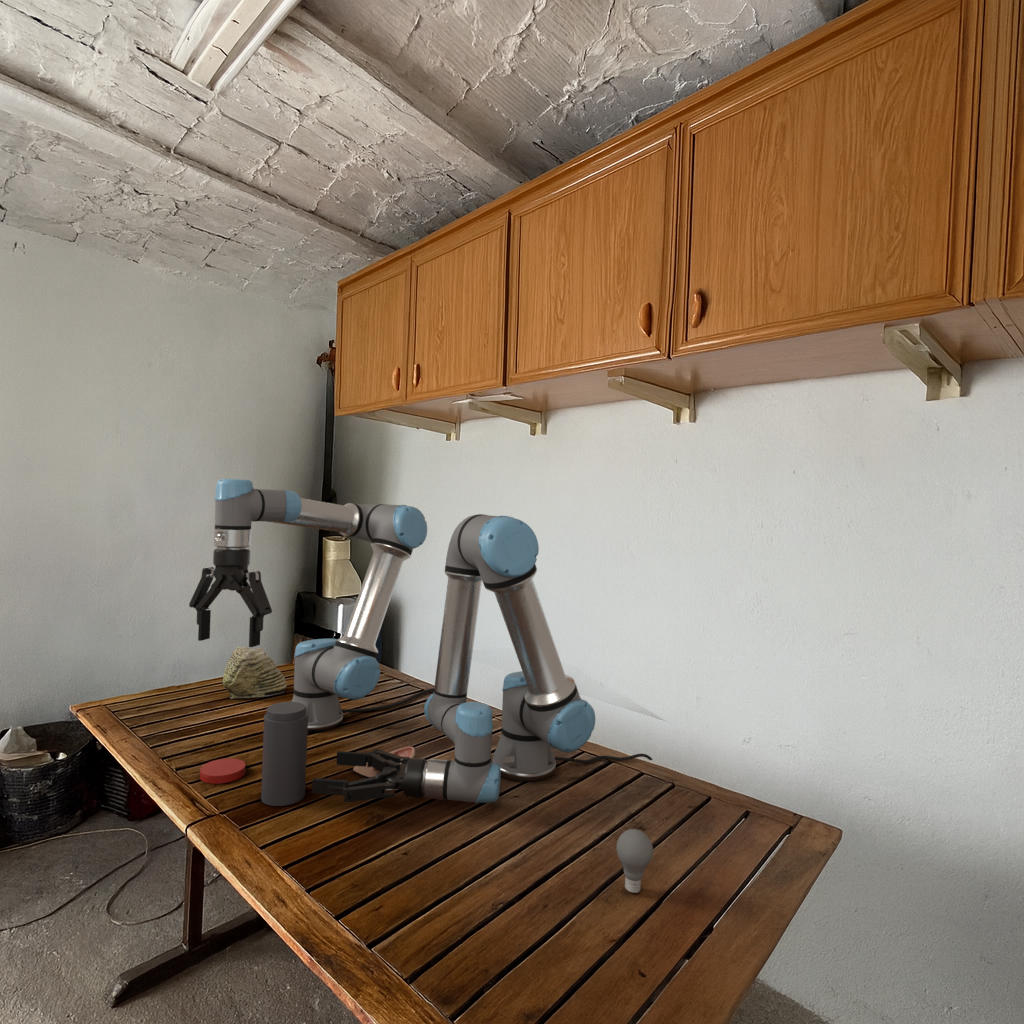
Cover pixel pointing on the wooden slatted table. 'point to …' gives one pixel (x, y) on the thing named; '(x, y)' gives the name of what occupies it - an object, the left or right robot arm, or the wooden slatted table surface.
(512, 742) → the right robot arm
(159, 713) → the wooden slatted table surface
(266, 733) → the jar
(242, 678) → the fossil
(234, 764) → the lid
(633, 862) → the light bulb
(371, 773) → the anatomical model
